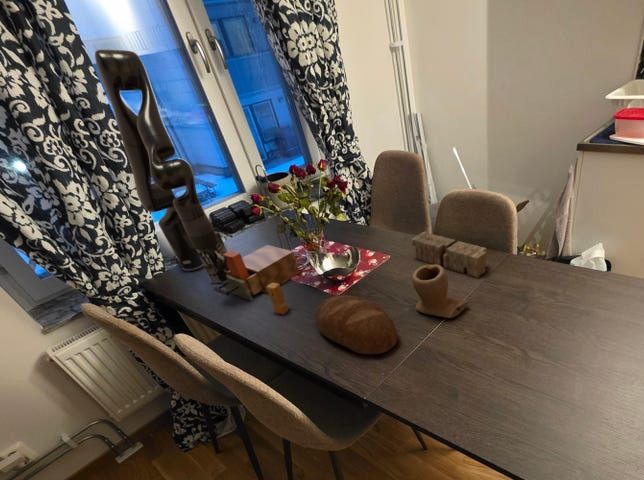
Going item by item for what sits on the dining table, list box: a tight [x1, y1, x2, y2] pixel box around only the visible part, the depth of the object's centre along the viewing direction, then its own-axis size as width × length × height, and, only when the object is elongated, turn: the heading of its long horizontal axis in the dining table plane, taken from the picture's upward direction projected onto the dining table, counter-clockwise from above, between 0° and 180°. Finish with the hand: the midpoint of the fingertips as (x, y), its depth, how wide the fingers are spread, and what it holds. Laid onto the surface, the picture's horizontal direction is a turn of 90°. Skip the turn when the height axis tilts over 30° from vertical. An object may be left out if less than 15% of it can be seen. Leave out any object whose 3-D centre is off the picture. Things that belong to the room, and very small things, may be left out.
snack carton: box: [223, 250, 250, 290], centre depth 135 cm, size 5×3×13 cm, turn 56°
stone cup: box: [411, 264, 469, 319], centre depth 115 cm, size 15×12×15 cm
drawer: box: [213, 270, 264, 301], centre depth 138 cm, size 20×14×7 cm, turn 146°
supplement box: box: [266, 283, 289, 315], centre depth 126 cm, size 3×3×10 cm
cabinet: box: [242, 244, 301, 294], centre depth 144 cm, size 16×15×9 cm
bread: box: [314, 294, 398, 355], centre depth 112 cm, size 16×29×11 cm, turn 50°
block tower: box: [411, 230, 487, 279], centre depth 140 cm, size 8×8×29 cm
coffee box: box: [196, 232, 229, 284], centre depth 146 cm, size 9×6×16 cm
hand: (223, 279), depth 131 cm, fingers closed
